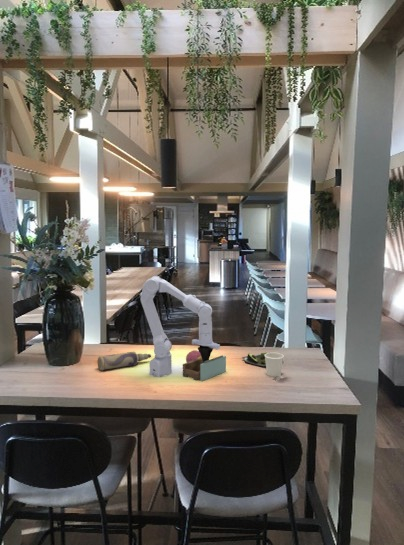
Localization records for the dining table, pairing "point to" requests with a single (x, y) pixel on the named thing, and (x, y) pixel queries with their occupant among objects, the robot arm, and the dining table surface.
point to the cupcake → (193, 355)
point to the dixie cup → (274, 364)
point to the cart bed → (192, 369)
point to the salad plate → (256, 360)
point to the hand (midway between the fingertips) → (205, 362)
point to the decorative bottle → (120, 360)
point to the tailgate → (213, 367)
